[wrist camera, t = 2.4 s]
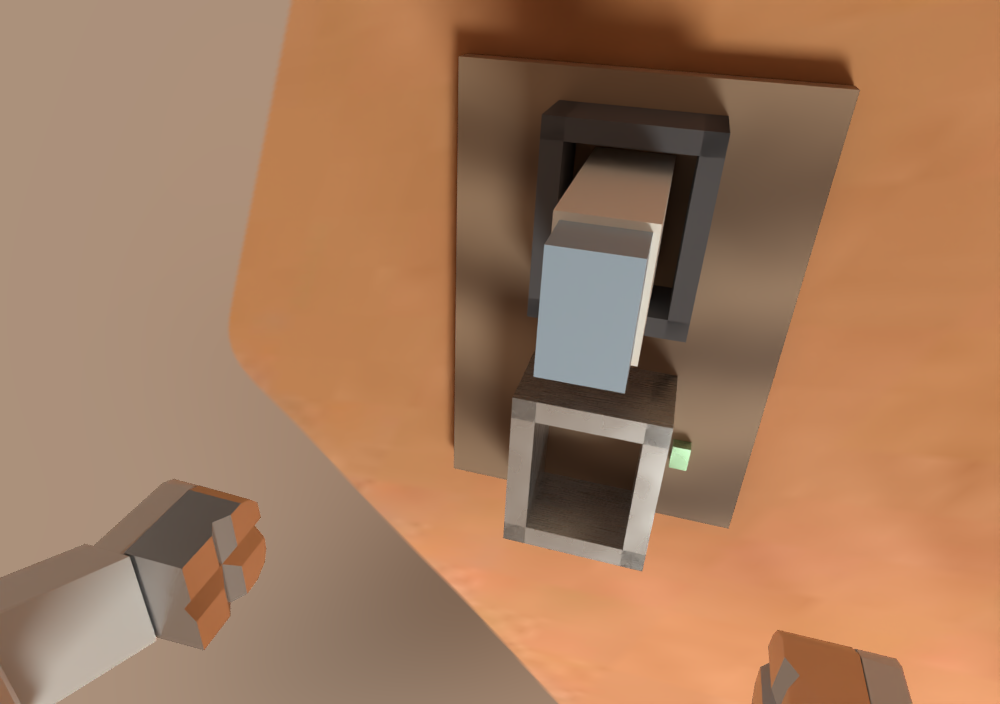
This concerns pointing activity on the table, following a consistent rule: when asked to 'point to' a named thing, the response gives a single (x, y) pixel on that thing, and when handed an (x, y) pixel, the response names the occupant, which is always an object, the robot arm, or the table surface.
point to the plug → (602, 268)
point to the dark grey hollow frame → (643, 133)
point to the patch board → (724, 275)
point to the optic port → (582, 504)
